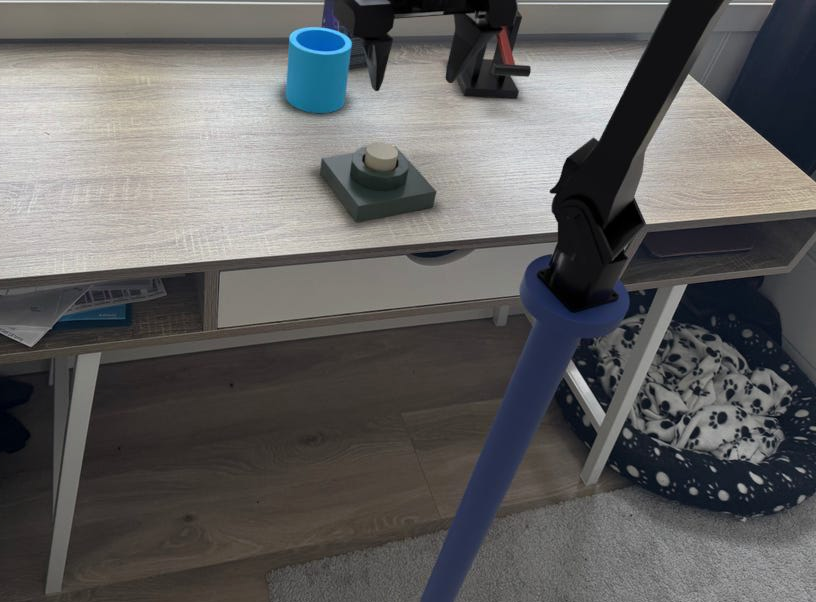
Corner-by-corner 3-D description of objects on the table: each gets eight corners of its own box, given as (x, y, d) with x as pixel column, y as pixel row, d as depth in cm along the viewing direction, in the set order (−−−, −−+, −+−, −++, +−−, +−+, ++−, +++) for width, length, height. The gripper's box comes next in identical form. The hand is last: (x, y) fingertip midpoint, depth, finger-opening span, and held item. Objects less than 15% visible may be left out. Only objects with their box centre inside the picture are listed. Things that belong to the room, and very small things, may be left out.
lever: (526, 81, 100) (532, 67, 98) (491, 79, 99) (496, 65, 97) (510, 23, 106) (515, 9, 104) (476, 21, 105) (481, 6, 103)
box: (318, 47, 113) (325, -26, 105) (350, 43, 115) (359, -29, 107) (343, 70, 108) (351, -4, 100) (375, 65, 110) (386, -8, 103)
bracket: (516, 98, 107) (538, 25, 100) (464, 95, 106) (482, 21, 99) (499, 67, 114) (518, -3, 107) (449, 64, 113) (465, -7, 106)
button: (401, 169, 83) (403, 156, 82) (373, 174, 82) (375, 161, 81) (386, 153, 85) (388, 140, 84) (359, 157, 84) (361, 144, 83)
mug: (354, 109, 100) (362, 51, 94) (299, 116, 97) (303, 57, 91) (319, 69, 107) (325, 13, 102) (267, 74, 104) (269, 17, 99)
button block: (433, 207, 85) (440, 178, 82) (356, 222, 81) (360, 192, 78) (392, 161, 91) (398, 132, 88) (319, 173, 87) (322, 144, 85)
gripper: (480, -95, 78) (449, 46, 89) (319, -93, 71) (306, 59, 82) (540, -59, 71) (499, 90, 82) (367, -53, 64) (346, 108, 75)
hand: (412, 85), depth 80 cm, fingers open, 9 cm apart
